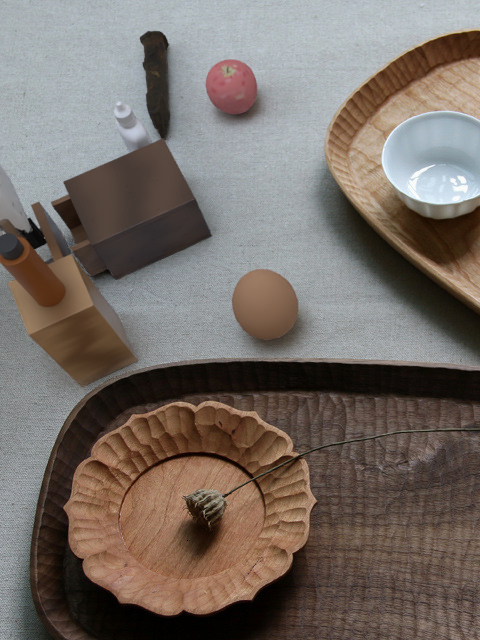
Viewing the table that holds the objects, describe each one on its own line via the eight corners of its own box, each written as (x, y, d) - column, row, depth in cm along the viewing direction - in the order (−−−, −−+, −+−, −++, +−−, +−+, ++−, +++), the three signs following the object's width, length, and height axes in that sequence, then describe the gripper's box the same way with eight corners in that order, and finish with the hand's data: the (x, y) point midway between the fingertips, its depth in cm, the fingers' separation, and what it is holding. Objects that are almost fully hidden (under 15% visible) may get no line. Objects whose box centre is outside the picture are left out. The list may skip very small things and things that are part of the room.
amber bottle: (40, 312, 94) (-6, 262, 84) (30, 288, 95) (-16, 237, 85) (69, 298, 94) (27, 248, 84) (59, 275, 95) (17, 223, 86)
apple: (264, 86, 125) (253, 45, 117) (260, 124, 122) (248, 85, 114) (217, 87, 125) (203, 46, 118) (211, 125, 122) (196, 85, 115)
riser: (81, 387, 106) (28, 335, 92) (62, 339, 109) (7, 282, 95) (138, 360, 107) (93, 304, 94) (117, 314, 110) (71, 253, 96)
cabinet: (116, 280, 112) (91, 245, 104) (88, 219, 117) (62, 181, 109) (212, 236, 115) (195, 198, 107) (181, 177, 119) (163, 137, 111)
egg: (232, 316, 109) (210, 271, 99) (286, 287, 111) (270, 241, 100) (259, 363, 106) (240, 322, 96) (315, 333, 108) (302, 290, 97)
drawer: (43, 305, 110) (19, 279, 104) (20, 248, 114) (-5, 220, 108) (167, 248, 113) (151, 219, 107) (141, 194, 117) (124, 163, 110)
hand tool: (146, 50, 129) (135, 27, 124) (171, 47, 129) (161, 23, 124) (146, 145, 121) (135, 123, 117) (172, 142, 121) (162, 120, 117)
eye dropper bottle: (161, 144, 121) (133, 85, 110) (164, 174, 119) (136, 116, 108) (132, 150, 121) (101, 90, 110) (134, 179, 119) (103, 122, 108)
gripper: (-92, 121, 93) (-9, 215, 110) (-57, 216, 88) (25, 299, 105) (-30, 95, 94) (43, 192, 111) (9, 187, 89) (79, 274, 106)
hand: (34, 244), depth 108 cm, fingers closed
